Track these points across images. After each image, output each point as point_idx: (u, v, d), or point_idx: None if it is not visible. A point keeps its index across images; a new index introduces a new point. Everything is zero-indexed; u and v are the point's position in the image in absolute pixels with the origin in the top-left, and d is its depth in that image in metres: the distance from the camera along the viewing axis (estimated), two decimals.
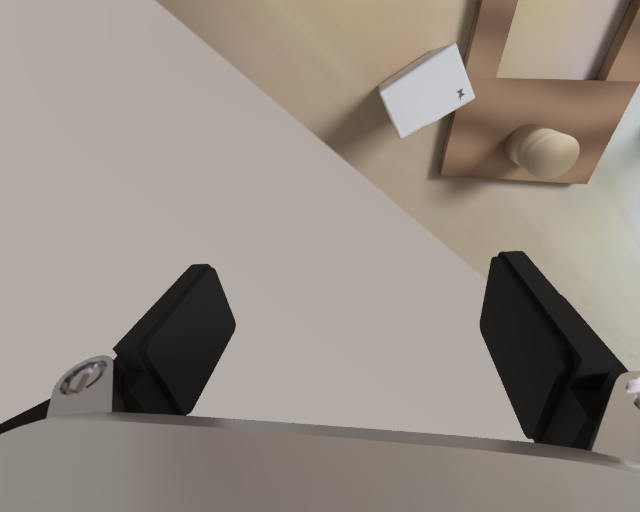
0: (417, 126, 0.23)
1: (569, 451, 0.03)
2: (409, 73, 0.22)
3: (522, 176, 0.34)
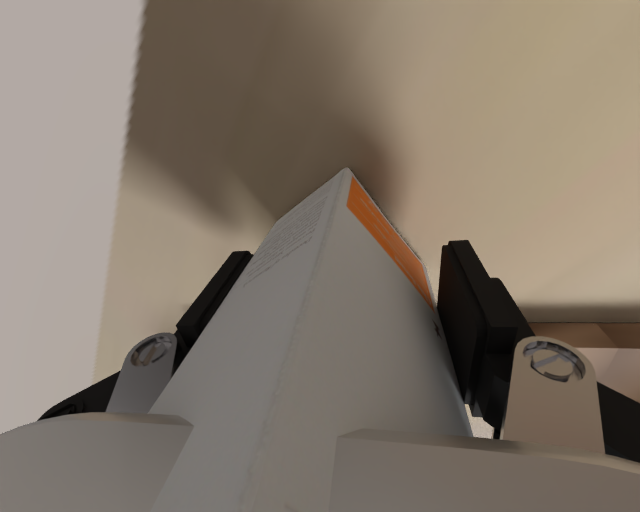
0: None
1: (569, 451, 0.03)
2: None
3: None
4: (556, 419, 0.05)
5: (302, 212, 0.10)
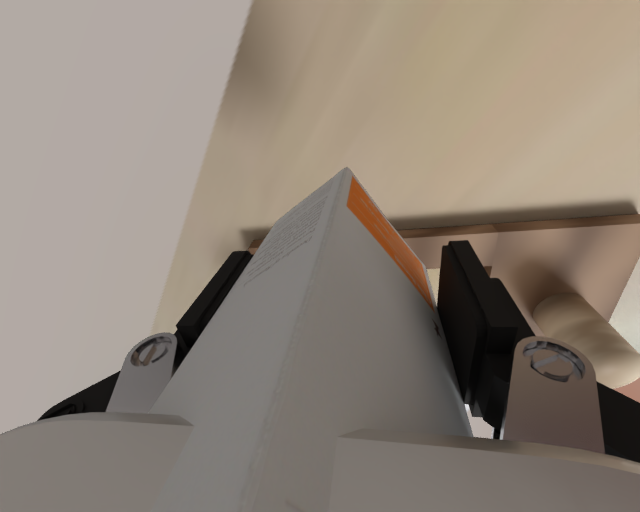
0: None
1: (569, 451, 0.03)
2: None
3: None
4: (556, 419, 0.05)
5: (302, 212, 0.10)
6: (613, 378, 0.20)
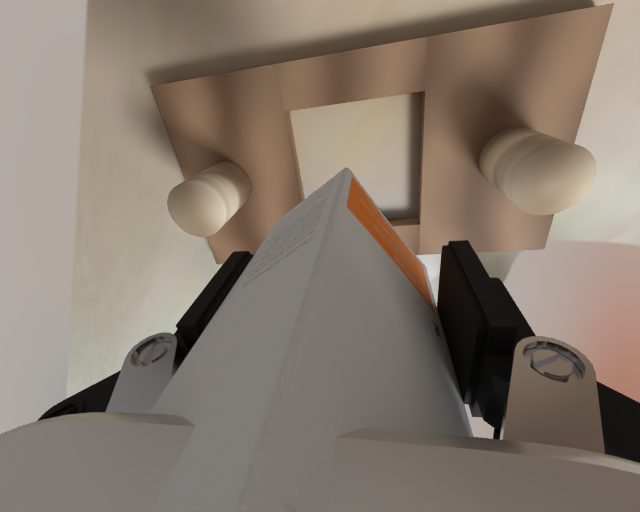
0: None
1: (569, 451, 0.03)
2: None
3: None
4: (556, 419, 0.05)
5: (302, 212, 0.10)
6: (558, 194, 0.17)
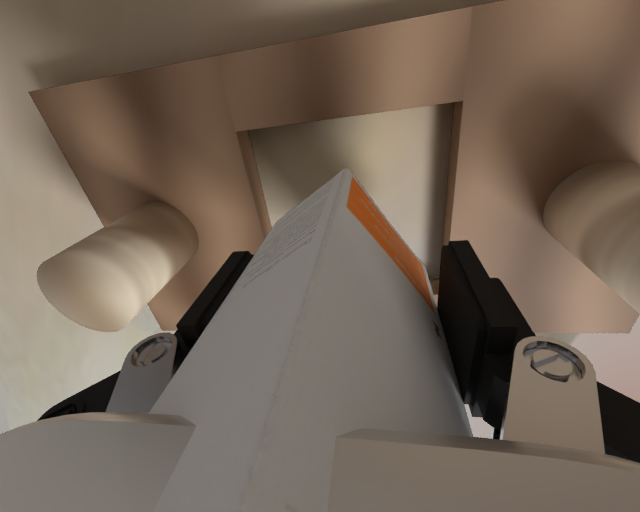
0: None
1: (568, 451, 0.03)
2: None
3: None
4: (556, 419, 0.05)
5: (302, 212, 0.10)
6: None
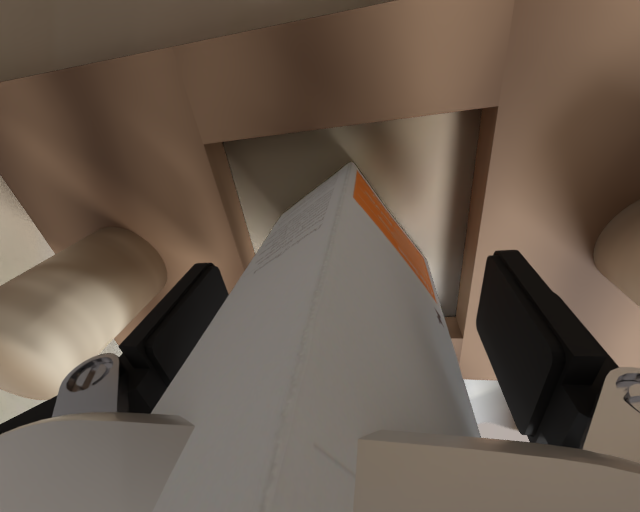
0: None
1: (569, 451, 0.03)
2: None
3: None
4: None
5: (309, 204, 0.11)
6: None
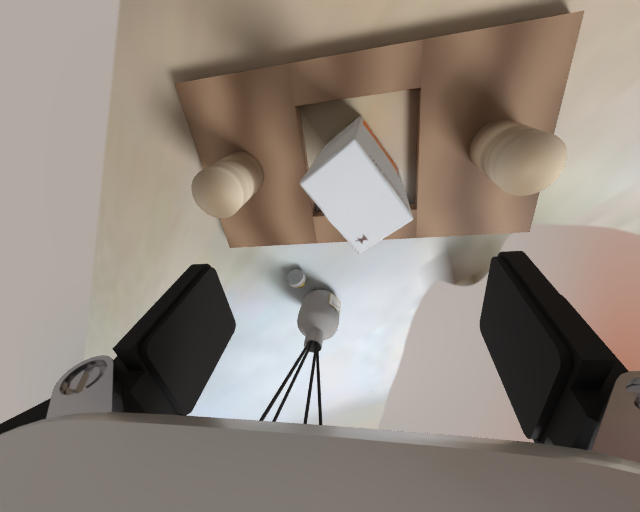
0: (319, 202, 0.17)
1: (569, 451, 0.03)
2: (380, 174, 0.16)
3: None
4: None
5: (342, 131, 0.24)
6: (535, 176, 0.19)
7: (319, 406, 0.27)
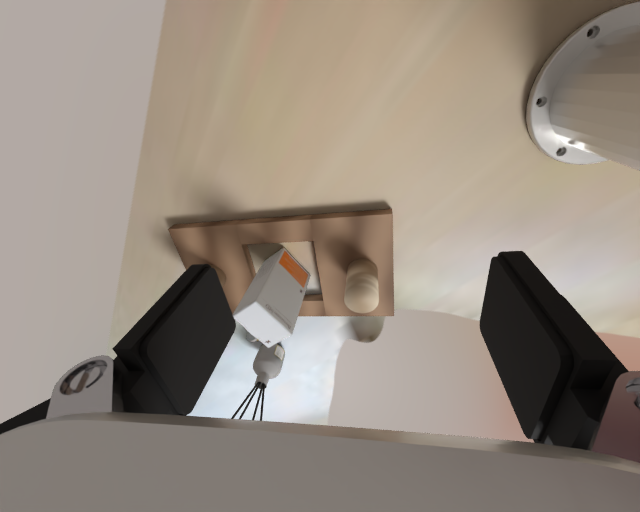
0: (242, 324, 0.33)
1: (569, 451, 0.03)
2: (271, 315, 0.32)
3: None
4: None
5: (270, 261, 0.40)
6: (365, 305, 0.35)
7: None
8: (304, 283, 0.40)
